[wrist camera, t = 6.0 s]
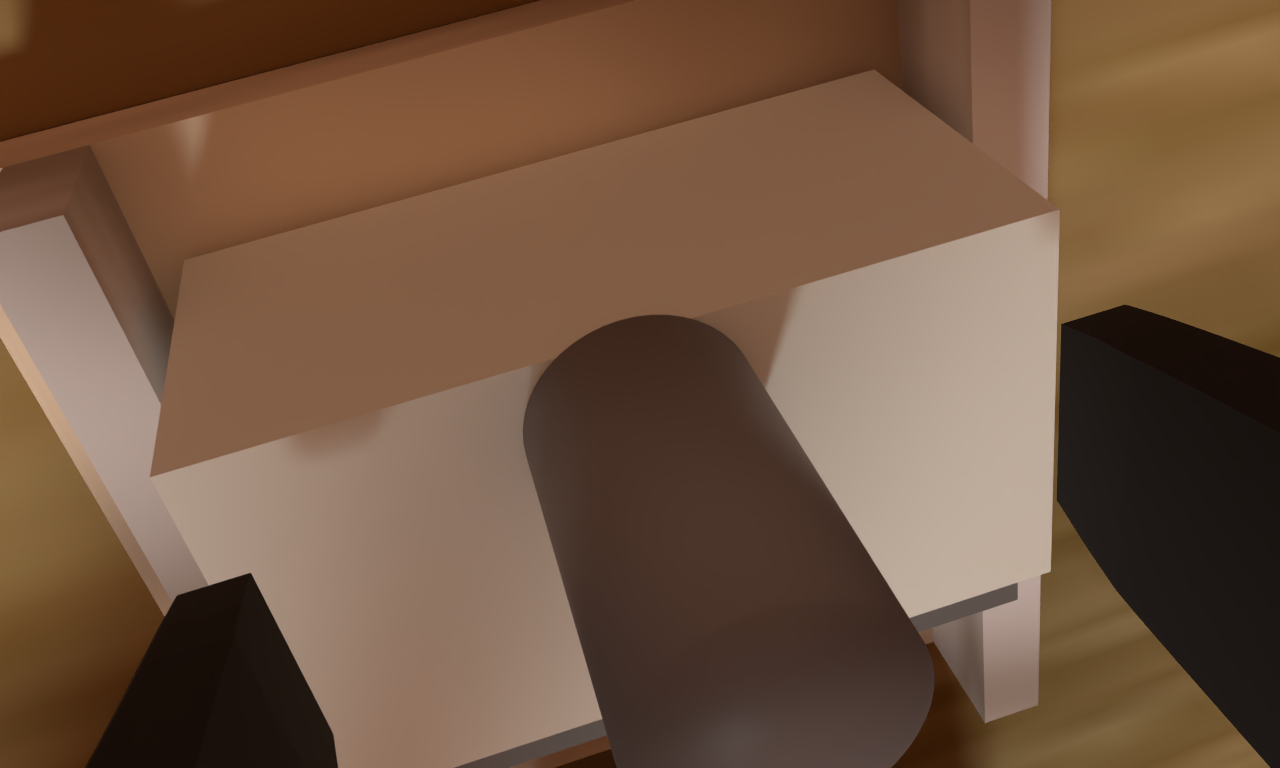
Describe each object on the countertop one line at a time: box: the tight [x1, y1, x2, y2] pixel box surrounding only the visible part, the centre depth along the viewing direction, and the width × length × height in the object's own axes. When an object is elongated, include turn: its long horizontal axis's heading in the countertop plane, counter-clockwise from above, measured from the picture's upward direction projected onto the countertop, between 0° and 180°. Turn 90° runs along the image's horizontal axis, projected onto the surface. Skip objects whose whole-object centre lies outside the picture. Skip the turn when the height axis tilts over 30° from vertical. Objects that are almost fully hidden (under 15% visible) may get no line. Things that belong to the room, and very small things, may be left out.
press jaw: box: [150, 70, 1060, 768], centre depth 13 cm, size 6×9×8 cm, turn 100°
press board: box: [0, 0, 1051, 768], centre depth 18 cm, size 13×14×3 cm
